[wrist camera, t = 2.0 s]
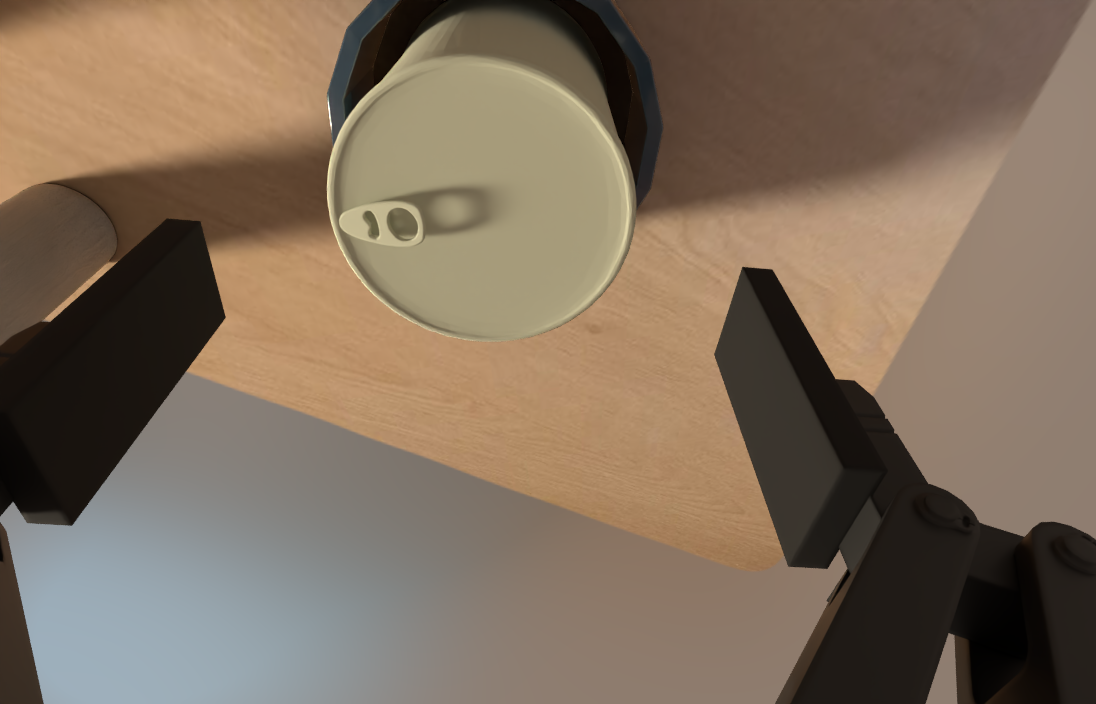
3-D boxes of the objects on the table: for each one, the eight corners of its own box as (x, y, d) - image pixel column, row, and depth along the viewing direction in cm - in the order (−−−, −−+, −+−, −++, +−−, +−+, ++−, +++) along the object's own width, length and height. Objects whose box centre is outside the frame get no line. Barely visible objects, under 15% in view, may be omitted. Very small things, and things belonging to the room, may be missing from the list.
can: (378, -10, 25) (276, 63, 15) (609, -19, 25) (651, 47, 15) (416, 206, 30) (359, 357, 21) (605, 199, 30) (633, 349, 21)
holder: (301, 86, 27) (259, 123, 23) (515, -147, 22) (509, -151, 18) (494, 276, 33) (488, 331, 29) (697, 124, 28) (722, 165, 24)
